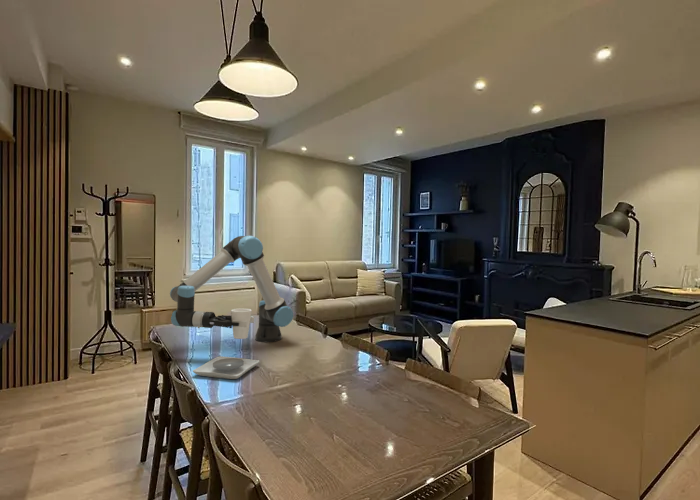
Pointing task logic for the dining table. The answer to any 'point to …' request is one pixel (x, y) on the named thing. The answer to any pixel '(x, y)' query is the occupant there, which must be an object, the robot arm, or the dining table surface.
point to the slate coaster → (228, 363)
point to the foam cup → (241, 315)
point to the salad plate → (228, 374)
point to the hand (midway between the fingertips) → (250, 322)
